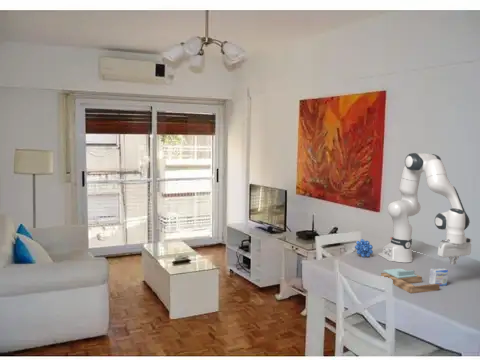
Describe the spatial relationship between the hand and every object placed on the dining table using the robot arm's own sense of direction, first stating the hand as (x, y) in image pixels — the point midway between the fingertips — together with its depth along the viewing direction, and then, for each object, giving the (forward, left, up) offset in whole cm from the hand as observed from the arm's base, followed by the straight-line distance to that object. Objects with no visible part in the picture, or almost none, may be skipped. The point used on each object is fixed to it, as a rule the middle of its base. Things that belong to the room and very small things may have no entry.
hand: (453, 264), depth 239 cm
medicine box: (-1, -9, -11) cm, 14 cm away
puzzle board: (-6, -24, -11) cm, 27 cm away
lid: (-13, -24, -8) cm, 29 cm away
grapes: (-56, -17, -11) cm, 59 cm away
